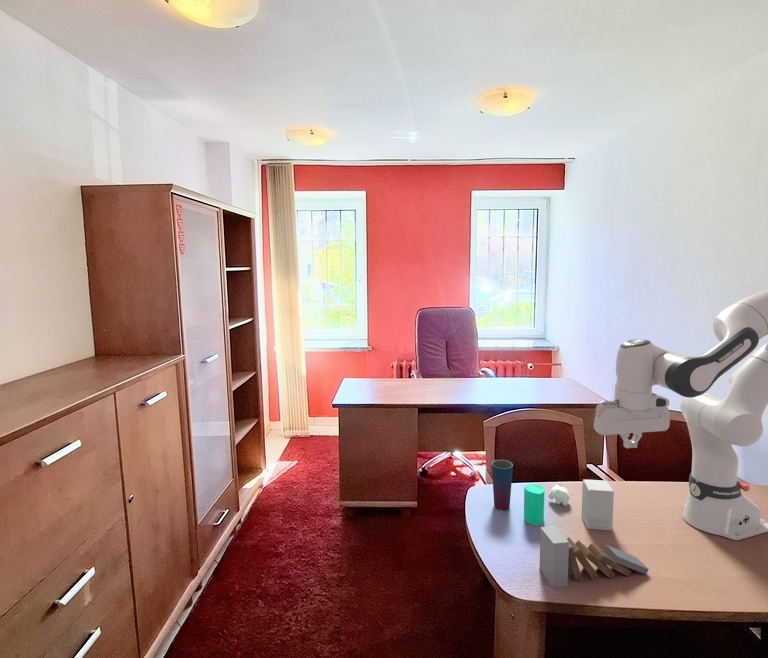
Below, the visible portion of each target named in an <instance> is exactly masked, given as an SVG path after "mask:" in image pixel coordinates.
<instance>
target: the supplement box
mask: <svg viewBox="0 0 768 658" xmlns="http://www.w3.org/2000/svg"><path fill="white" fill-rule="evenodd" d="M581 490H582V491H581V492H582V493H581V495H582V496H581V518H582V521H583V524H584V525H585V526H586V529H590V530H601V531H613V520H614V519H613V517H614V516H613V515H614V497H615V496H614V495H615V494H614V493H615V491H614V489H613V488H612V486H611V485H610V483H609V482H608V480H604V479H603V480H599V479H582V489H581Z"/></svg>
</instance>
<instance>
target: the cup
mask: <svg viewBox="0 0 768 658" xmlns="http://www.w3.org/2000/svg"><path fill="white" fill-rule="evenodd" d="M513 468H514V464H513V462H511V461H509V460H507V459H495V460H492V461H491V472H492V477H491V478H492V492H493V493H492V494H493V507H494V508H495V509H497V510H499V511H508V510H509V509H510V507H511V495H512V494H511V493H512V481H513Z"/></svg>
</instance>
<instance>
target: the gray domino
mask: <svg viewBox="0 0 768 658" xmlns="http://www.w3.org/2000/svg"><path fill="white" fill-rule="evenodd" d="M603 550H604V551H605V552H606V553H607V554H608V556H609V557H610V558H611V559H612V560H613V561H614V562H616V563H619V564H621V565H624V566H626V567H628V568H629V569H630V570H634V571H636V572H639V573H641V574H644V575H646V576H647V574H648V572H649V570H650V569H649V567H647V566H646V565H645V563H643V562H642V561H641V560H640V559H639V558H638V557H636V556H635V555H632V554H629V553H628V552H624V551H622V550H620V549H618V548H615V547H614V546H610V545H609V544H604V546H603Z"/></svg>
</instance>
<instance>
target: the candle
mask: <svg viewBox="0 0 768 658" xmlns="http://www.w3.org/2000/svg"><path fill="white" fill-rule="evenodd" d="M523 489H524V492H523V495H524V496H523V519H524V521H525V522H526V523H528V524H530V525H534V526H535V525H542V524H544V521H545V489H544V487H543V486H541V485H539V484H536V483H534V484H527V485H524V488H523Z"/></svg>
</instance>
